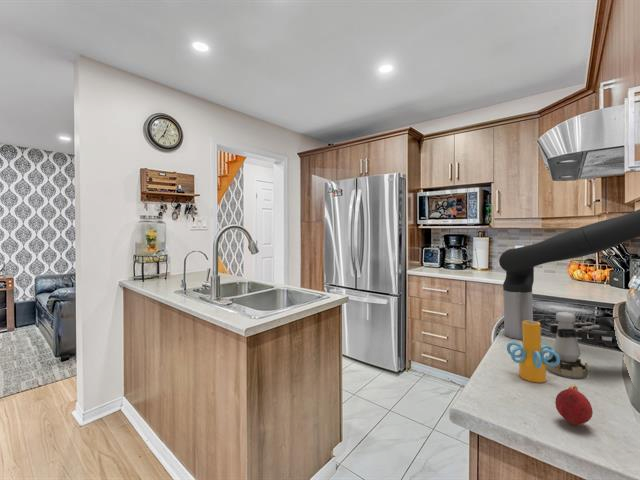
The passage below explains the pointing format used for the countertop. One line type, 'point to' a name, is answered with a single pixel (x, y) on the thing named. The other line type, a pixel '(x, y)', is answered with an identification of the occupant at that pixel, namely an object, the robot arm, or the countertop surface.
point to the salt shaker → (566, 339)
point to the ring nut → (568, 369)
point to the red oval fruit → (573, 406)
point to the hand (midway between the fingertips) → (554, 331)
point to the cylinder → (532, 353)
